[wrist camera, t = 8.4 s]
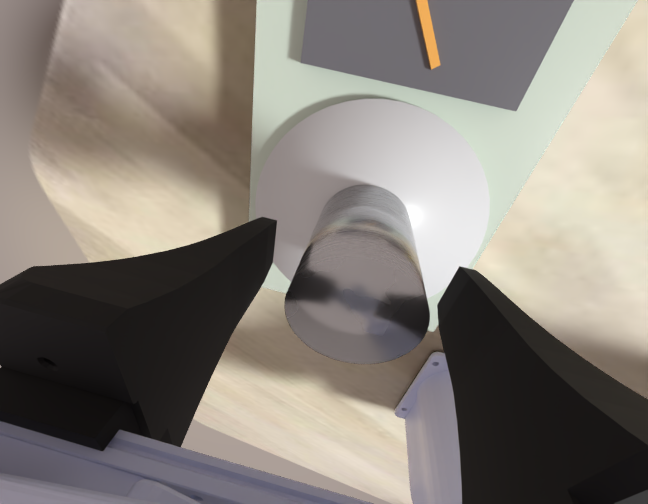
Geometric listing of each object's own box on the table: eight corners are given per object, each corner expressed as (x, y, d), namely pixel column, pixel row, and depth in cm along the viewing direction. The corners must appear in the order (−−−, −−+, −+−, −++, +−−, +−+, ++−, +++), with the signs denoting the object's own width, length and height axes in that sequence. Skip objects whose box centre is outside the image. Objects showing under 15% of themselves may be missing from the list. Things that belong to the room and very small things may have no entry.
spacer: (392, 274, 15) (399, 377, 10) (312, 253, 15) (277, 343, 10) (425, 198, 12) (457, 282, 7) (329, 173, 12) (294, 239, 7)
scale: (427, 304, 19) (435, 342, 16) (260, 261, 19) (241, 291, 17) (597, -4, 10) (677, -34, 7) (283, -69, 11) (250, -119, 8)
